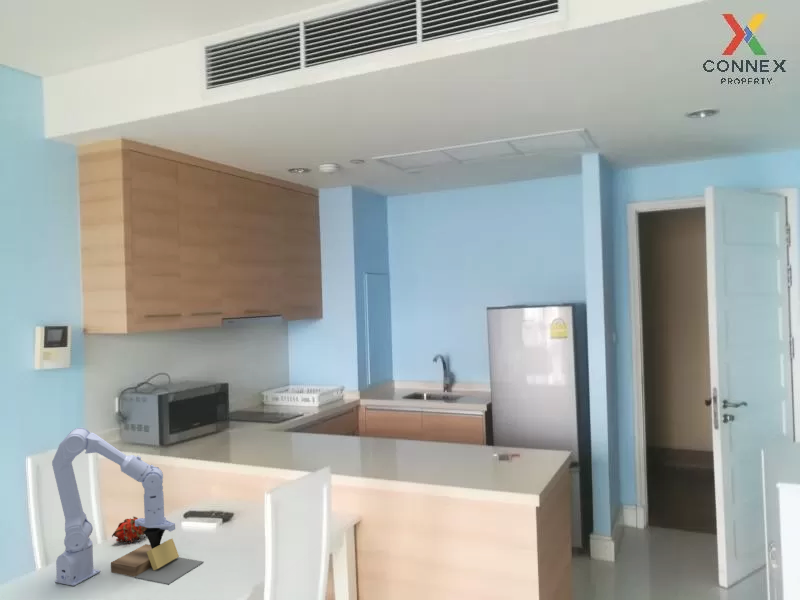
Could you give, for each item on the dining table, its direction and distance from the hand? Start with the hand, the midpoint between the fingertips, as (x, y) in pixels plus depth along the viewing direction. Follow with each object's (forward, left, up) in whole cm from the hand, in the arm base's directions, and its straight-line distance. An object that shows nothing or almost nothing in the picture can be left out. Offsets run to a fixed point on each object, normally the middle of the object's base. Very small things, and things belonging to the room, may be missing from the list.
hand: (155, 550), depth 188 cm
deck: (-2, +4, -4) cm, 6 cm away
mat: (-2, -7, -4) cm, 9 cm away
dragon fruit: (+11, +22, -4) cm, 25 cm away
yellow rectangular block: (0, -2, -1) cm, 2 cm away
